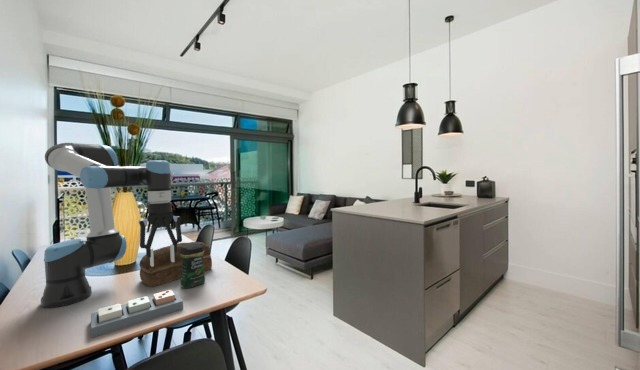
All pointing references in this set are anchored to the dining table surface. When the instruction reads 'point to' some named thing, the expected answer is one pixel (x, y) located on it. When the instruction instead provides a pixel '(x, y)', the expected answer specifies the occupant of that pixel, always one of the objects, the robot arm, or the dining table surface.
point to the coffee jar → (192, 265)
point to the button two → (138, 304)
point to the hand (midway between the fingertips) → (162, 263)
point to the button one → (110, 312)
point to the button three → (163, 297)
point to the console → (133, 316)
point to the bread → (168, 265)
